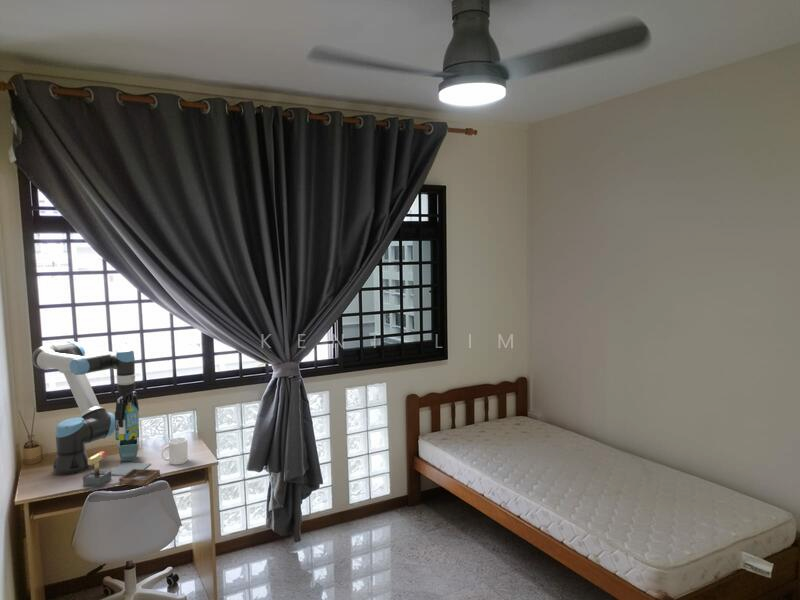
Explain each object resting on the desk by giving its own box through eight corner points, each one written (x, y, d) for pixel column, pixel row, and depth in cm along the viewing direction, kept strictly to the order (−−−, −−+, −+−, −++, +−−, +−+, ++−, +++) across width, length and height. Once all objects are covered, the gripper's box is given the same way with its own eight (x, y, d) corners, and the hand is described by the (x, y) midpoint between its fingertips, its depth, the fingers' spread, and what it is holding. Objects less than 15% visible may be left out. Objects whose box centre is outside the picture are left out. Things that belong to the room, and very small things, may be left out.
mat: (106, 475, 257) (105, 473, 257) (123, 463, 271) (123, 462, 271) (135, 476, 256) (135, 475, 256) (150, 464, 270) (150, 463, 270)
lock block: (83, 485, 245) (82, 477, 245) (94, 478, 253) (94, 469, 253) (100, 486, 244) (100, 477, 244) (111, 479, 252) (111, 470, 252)
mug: (159, 462, 273) (159, 441, 272) (185, 457, 280) (184, 436, 279) (163, 468, 266) (163, 446, 265) (189, 462, 273) (189, 441, 272)
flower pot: (138, 455, 281) (138, 438, 281) (138, 461, 273) (138, 443, 273) (119, 457, 278) (118, 440, 277) (118, 464, 270) (118, 446, 269)
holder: (119, 484, 247) (119, 478, 247) (133, 473, 259) (133, 468, 258) (146, 485, 246) (146, 480, 246) (159, 475, 258) (159, 469, 257)
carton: (127, 441, 257) (126, 403, 255) (115, 439, 259) (113, 401, 258) (140, 436, 264) (139, 399, 262) (128, 434, 266) (126, 397, 265)
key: (92, 477, 244) (91, 459, 243) (88, 477, 244) (87, 458, 243) (105, 469, 253) (105, 451, 252) (101, 469, 253) (101, 451, 252)
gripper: (120, 389, 248) (122, 438, 250) (146, 378, 269) (147, 423, 272) (104, 388, 249) (106, 437, 251) (131, 377, 270) (132, 422, 272)
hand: (127, 430), depth 261 cm, fingers closed on carton, 8 cm apart
